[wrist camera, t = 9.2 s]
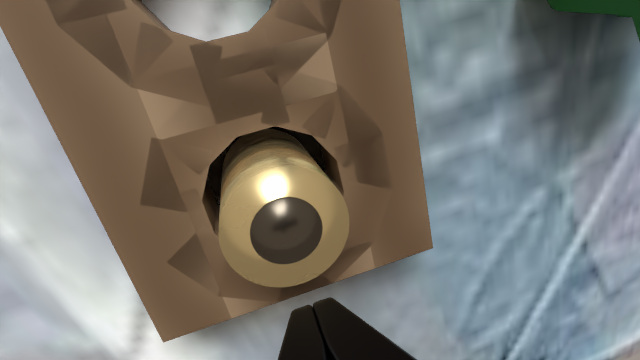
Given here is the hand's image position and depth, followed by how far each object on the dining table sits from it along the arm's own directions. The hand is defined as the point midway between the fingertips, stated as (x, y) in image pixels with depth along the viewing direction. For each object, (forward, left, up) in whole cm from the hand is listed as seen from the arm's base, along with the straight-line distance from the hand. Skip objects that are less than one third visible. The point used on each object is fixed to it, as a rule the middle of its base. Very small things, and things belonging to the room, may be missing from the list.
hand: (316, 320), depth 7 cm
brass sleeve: (0, 0, -10) cm, 10 cm away
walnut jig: (0, -4, -10) cm, 11 cm away
